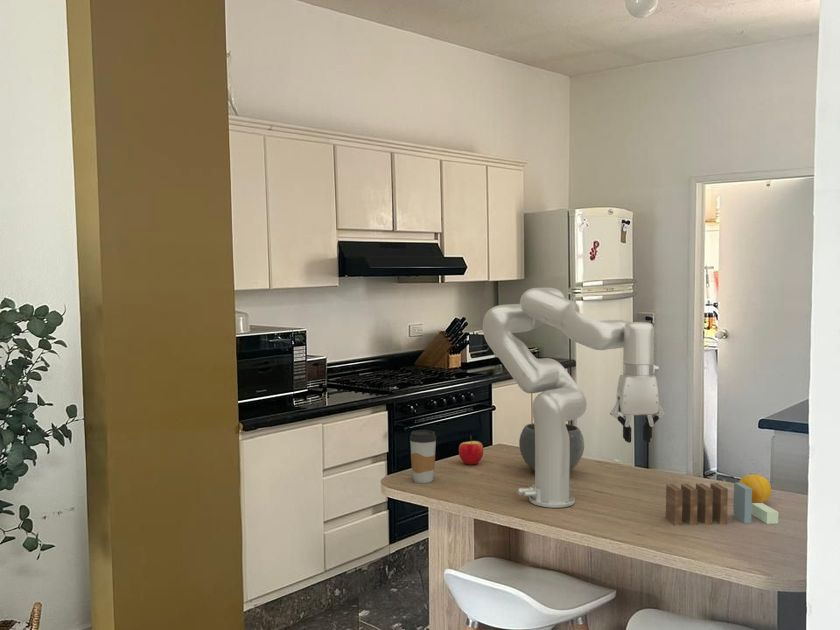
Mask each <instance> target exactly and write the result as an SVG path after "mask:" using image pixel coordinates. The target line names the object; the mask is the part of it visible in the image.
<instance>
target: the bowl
mask: <svg viewBox="0 0 840 630" xmlns="http://www.w3.org/2000/svg"><path fill="white" fill-rule="evenodd" d="M565 424H566V428H567V430H568V434H569V440H570V462H569V472H571V471H572V470H573V469H574V468H575V467H576V466H577V465H578V463H580V462H579V461H580V460H581V458H582V457H583V454H584V450H585V440H584V436H583V433H582V431H581V430H580V428H579V427H578V426H576V425H573V424H570V423H565ZM519 436H520V437H519V445H518V446H519V451H520V455H521V457H522V459H523V461H524V462H525V463H526V465H527V466H528V467H530V469H531V470H534V471H535V426H534V422H533V423H528V424H526V425H524V427H523V429H522V431H521V433H520V435H519Z"/></svg>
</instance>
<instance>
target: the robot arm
mask: <svg viewBox="0 0 840 630" xmlns="http://www.w3.org/2000/svg"><path fill="white" fill-rule="evenodd" d="M544 324H546V325H549V326H551V327H553V328H556V329H558V330H560V331H562V333H563V334H564V335H565V336H566V337H567V338H568V339H569V340H572V341H573V342H575V343H577V344H579V345H582V346H585V347H586V348H590V349H592V350H595V351H605V350H615V349H616V350H617V349H622V351H623V352H622V353H623V357H622V358H623V361H622V363H623V365H622V370H623V371H622V374H620V375H619V377H618V383H617V386H616V387H617V388H616V397H615V405H614V406H613V408H612V409H611V410H610V412H609V415H611V416H612V417H613V418H614V419H616V420H617V421H618V422H619V423H620V424H621V425H622V437H623V439H624V441H625V442H627V443H629V444H630V443H632V427H631V425H630V424H631V420H632V416H644V421H645V422H644V425H643V427H642V428H643V432H642V433H643V435H642V439H643V441H645V442H646V443H651V439H652V438H653V427H654V426H655V424H656V423H657V421H659V420H660V419H661V418H663V417H664V416H665V415H666V411H665V410H664V409H663V407H662V406H661V404H660V395H659V387H658V386H659V385H658V379H657V377H656V375H655V372H658V371H659V370H660V367H659V365H655V328H654V325H653V324H652V323H651V322H647V321H628V320H623V319H610V320H609V319H608V320H597V319H594V318H591V317H589V316H586V315H584V314H582V313H580V307H579V305H578V303H577V302H576V301H573V300H571V299H568V298H566V297H565V295H564V293H563V292H562V291H561V290H559V289H558V288H555V287H550V286H549V287H533V288H529V289H527V290H525V291H524V293H523V294H522V295H521V297H520V300H519V303H513V304H512V303H511V304H510V303H509V304H499V305H495V306H493V307H491V308H489V310H487V312H486V313H485V315H484V316H483V321H482V333H483V336H484V339H485V341H486V344H487V346H488V347H489V348H490V349H491V351H492V352H493V353H494V354H495V356H496V357H497V358H498V359H499V361H500V362H501V363H502V365H503V366H504V368H505V369H506V370H507V372H508V373H509V374H510V376H511V378H512V379H513V381H514V382H515V383H516V384H517V386H518V387H519V388H520V390H522V391H523V392H524V393H526V394H537V395H536V396H535V398H534V399H533V401H532V405H531V412H532V414H531V415H532V418H533V423H534V426H535V470H534V483H532V484H531V485H532V486H529V487H518V488H517V493H518V495H520V496H521V495H523V496H524V497H529V498H528V500H529V502H530V504H531V503H532V504H533V505H535V506H537V507H543V508H552V509H553V508H554V509H555V508H556V509H558V508H567V507H571V506H573V505H574V504H575V502H576V500H575V499H576V498H575V497H574V496H573V495H571V494H570V471H569V462H570V440H569V434H568V430H567V428H566V424H567V423H566V422H570V421H574V420H577V419H579V418H581V417H582V416H583V415H584V414H585V413H586V410H587V399H586V397H585V394H584V392H583V390H582V389H581V388H580V386H578V384H577V382H576V381H575V379H573V377H572V376H571V375H570V374H569V372H568V371H567V369H566V368H565V366H564V365H562V364H561V363H560V362H559V361H557V360H556V359H552V358H549V357H548V358H545V357H544V358H537V357H536V356H535V355H534V354H533V353H532V352H531V351H530V349H529V347H528V346H527V345H526V344H525V342H523V341H522V340H521V339H520V338H518V337H516V336H515V335H514V334H517V333H526V332H529V331H532V330H534V329H536V328H539V327H540V326H542V325H544ZM619 413H620V414H622V416H621V415H620V414H619Z"/></svg>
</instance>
